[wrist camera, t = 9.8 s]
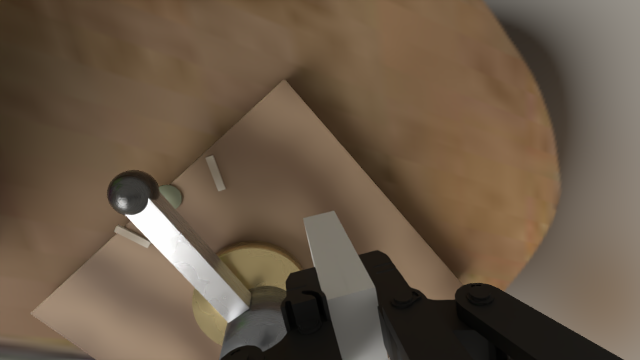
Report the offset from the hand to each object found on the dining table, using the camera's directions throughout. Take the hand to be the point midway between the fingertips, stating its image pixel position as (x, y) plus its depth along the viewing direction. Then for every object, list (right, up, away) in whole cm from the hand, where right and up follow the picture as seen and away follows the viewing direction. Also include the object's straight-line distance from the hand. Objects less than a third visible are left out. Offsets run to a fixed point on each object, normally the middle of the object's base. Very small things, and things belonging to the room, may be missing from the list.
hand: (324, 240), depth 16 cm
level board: (-5, -6, +12) cm, 14 cm away
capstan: (-7, -2, +8) cm, 11 cm away
